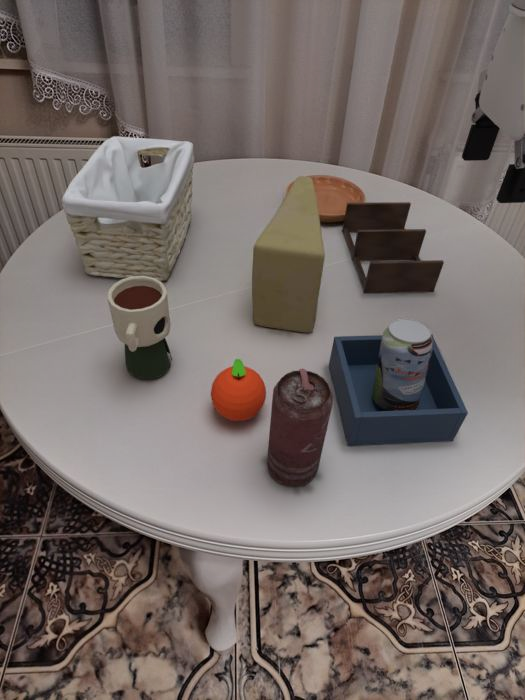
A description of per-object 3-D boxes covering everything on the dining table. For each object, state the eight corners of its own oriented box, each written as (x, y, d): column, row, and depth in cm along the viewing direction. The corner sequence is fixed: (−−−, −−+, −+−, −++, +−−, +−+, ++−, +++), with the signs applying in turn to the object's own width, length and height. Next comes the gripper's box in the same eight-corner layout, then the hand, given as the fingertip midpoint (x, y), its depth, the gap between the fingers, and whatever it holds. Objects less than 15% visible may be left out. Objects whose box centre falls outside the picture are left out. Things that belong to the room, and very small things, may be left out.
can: (310, 439, 63) (324, 362, 53) (323, 484, 59) (341, 409, 49) (262, 445, 62) (268, 368, 53) (272, 491, 58) (280, 416, 48)
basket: (119, 207, 101) (106, 132, 90) (200, 214, 100) (196, 139, 90) (77, 281, 84) (55, 199, 73) (174, 289, 83) (166, 208, 73)
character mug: (167, 397, 67) (157, 324, 58) (114, 393, 67) (95, 320, 58) (181, 340, 75) (174, 268, 66) (133, 336, 75) (119, 264, 66)
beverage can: (387, 426, 64) (411, 361, 56) (356, 386, 69) (374, 319, 60) (427, 411, 66) (456, 346, 58) (395, 372, 71) (417, 307, 62)
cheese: (272, 246, 93) (277, 167, 82) (325, 253, 92) (337, 174, 82) (249, 326, 78) (252, 242, 67) (312, 335, 77) (325, 252, 66)
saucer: (368, 229, 98) (371, 215, 96) (285, 226, 98) (287, 212, 96) (357, 189, 110) (360, 176, 108) (284, 186, 109) (285, 173, 107)
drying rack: (402, 230, 99) (410, 202, 95) (433, 291, 85) (444, 262, 81) (342, 230, 98) (346, 202, 94) (363, 293, 84) (370, 263, 80)
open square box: (420, 362, 74) (431, 333, 69) (453, 441, 64) (468, 412, 60) (328, 365, 72) (334, 336, 68) (347, 446, 63) (355, 417, 59)
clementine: (211, 384, 69) (209, 347, 64) (262, 383, 70) (264, 346, 65) (211, 433, 63) (209, 396, 58) (267, 431, 64) (269, 394, 59)
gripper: (662, 21, 39) (562, 219, 51) (551, -24, 51) (491, 145, 63) (569, 21, 38) (491, 222, 50) (479, -25, 50) (433, 146, 62)
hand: (491, 179), depth 57 cm, fingers open, 9 cm apart
